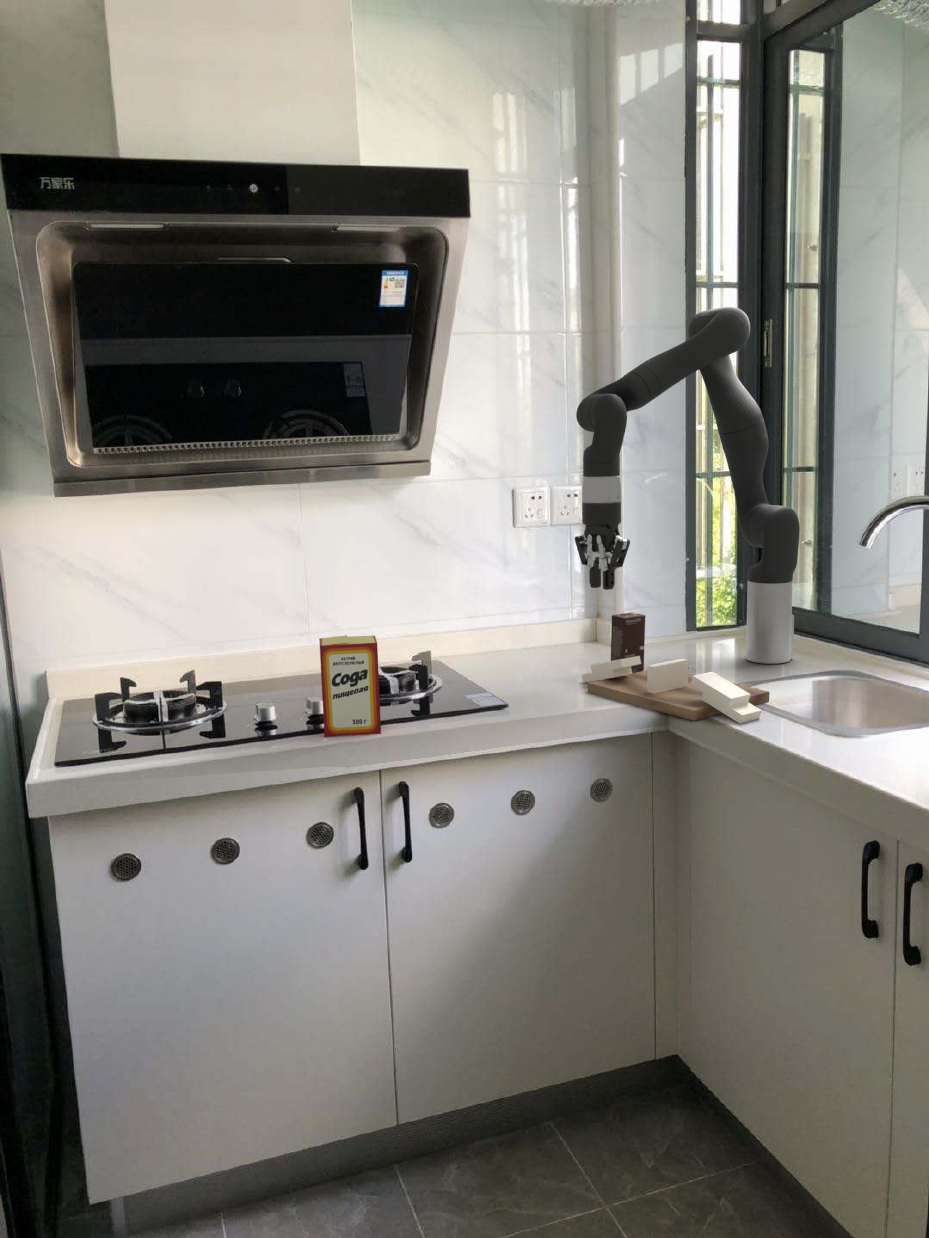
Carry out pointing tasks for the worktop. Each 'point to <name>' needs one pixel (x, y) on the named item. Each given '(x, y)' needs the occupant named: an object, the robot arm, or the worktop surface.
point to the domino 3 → (667, 676)
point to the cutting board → (665, 696)
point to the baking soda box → (350, 685)
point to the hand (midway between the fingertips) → (601, 587)
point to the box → (628, 638)
